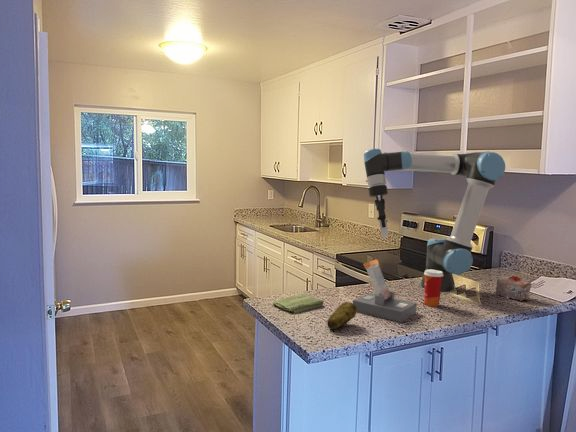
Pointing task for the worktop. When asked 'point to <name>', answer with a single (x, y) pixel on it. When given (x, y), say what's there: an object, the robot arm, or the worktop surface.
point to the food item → (513, 288)
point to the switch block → (385, 307)
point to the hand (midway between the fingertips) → (385, 236)
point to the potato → (342, 315)
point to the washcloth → (298, 303)
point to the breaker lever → (377, 279)
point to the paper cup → (432, 287)
